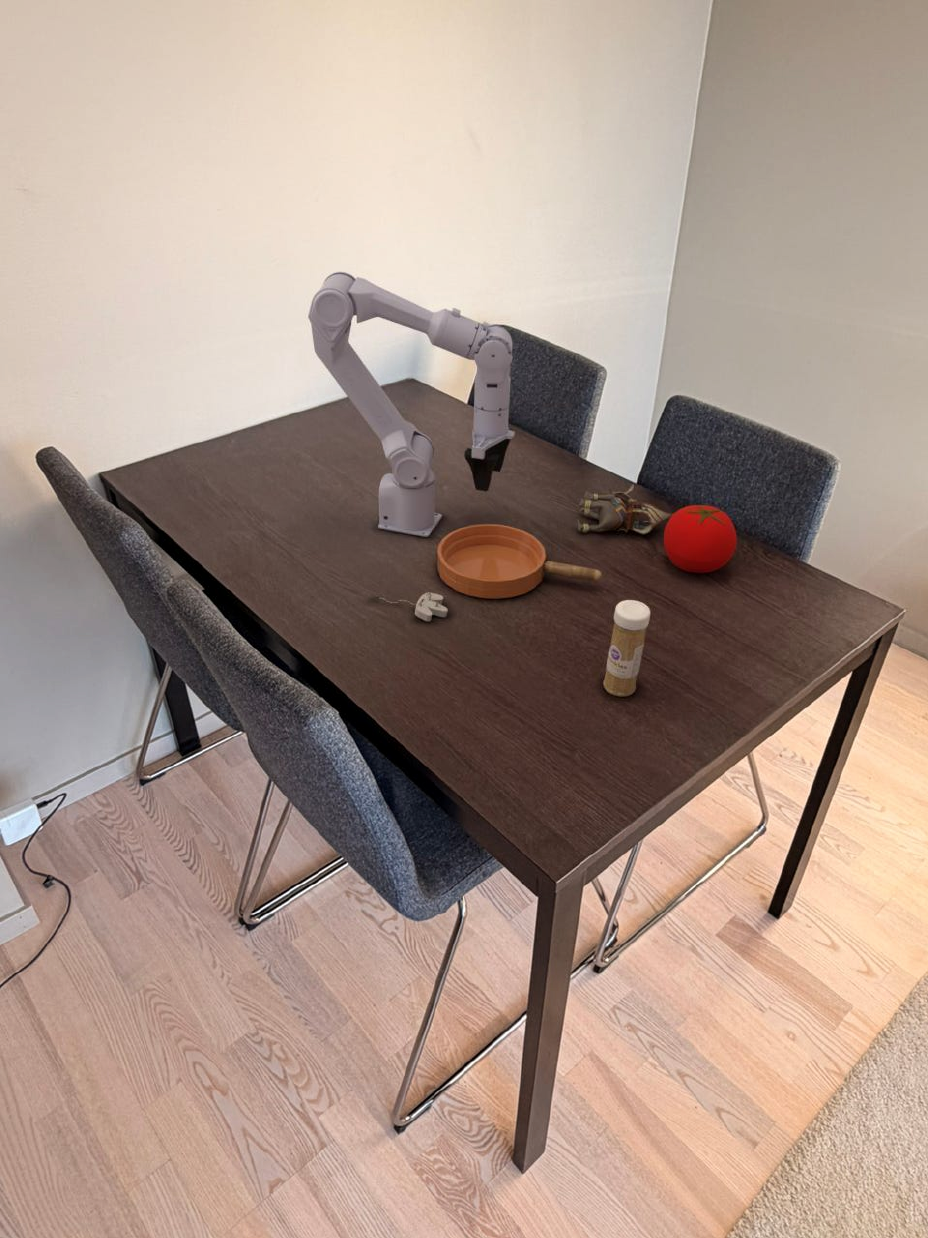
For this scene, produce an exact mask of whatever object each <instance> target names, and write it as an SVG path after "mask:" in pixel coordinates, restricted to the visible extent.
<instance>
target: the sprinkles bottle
mask: <svg viewBox="0 0 928 1238" xmlns="http://www.w3.org/2000/svg"><path fill="white" fill-rule="evenodd" d="M650 619H651V609H650V607H649V606H647V604H645V603H644V602H641V601H639V600H634V599H625V600H622V601H620V602H618V603H617V604H616V605H615V608H614V614H613V622H614V624H613V628H612V635H611V640H610V646H609V649H608V655H607V661H606V669H605V674H604V675H605V677H604V680H603V683H602V685H603V687H604V690H606V692H607V693H609V694H610V695H612V696H615V697H620V698H621V697H622V698H623V697H629V696H631V695H633V694H634V692H636V689H637V685H636V683H637V679H638V675H639V671H640V666H641V660H642V655H643V650H644V644H645V638H646V632H647V628H648V625H649V624H650Z"/></svg>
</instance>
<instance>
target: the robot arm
mask: <svg viewBox="0 0 928 1238" xmlns="http://www.w3.org/2000/svg"><path fill="white" fill-rule="evenodd" d="M309 307H310V308H309V312H308V315H307V319H308V320H309V322H310V325H311V334H312V340H313V341H312V343H313V349H314V352H315V354H316V356H317V358H318V359H319V360H320V361H321V363H322V364H323V366H324V367H325V369H327V371H328V372H329V373H330V375H331V376H332V377H333V380H335V381H336V383H337V384H338V386H339V387H340V388H341V389H342V391H343V392H344V394H345V395H346V396H347V398H348V399H349V400H350V402H351V403H352V405H353V406H354V407H355V408H356V410H357V411H358V412H359V414H360V415H361V416H362V418H363V419H364V420H365V421H366V423H367V424H368V425H369V427H370V428H371V430H372V431H373V432H374V433H375V435H376V437H377V438H378V439H379V440H380V442H381V445H382V448H383V452H384V456H385V459H386V460H387V461H388V463H389V465H390V466H391V472H392V473H390V472H389V473H385V474H384V475H383V476H382V478H381V480H380V483H379V487H378V520H379V524H378V526H377V528H378V529H380V530H384V531H391V532H396V533H402V534H407V535H412V536H418V537H422V538H429V537H430V535H432V532H433V531H434V530H435V528H436V526H437V525H438V524H439V522H440V520H441V519H442V517H443V515H442V513H437V512H435V495H436V494H435V492H436V488H435V487H436V485H435V484H436V480H435V479H436V475H435V473H434V471H432V468H431V466H432V460H433V458H434V454H435V446H434V443H433V441H432V439H431V438H430V437H429V436H428V435H426V434H424V433H422V432H421V431H419V430H418V429H417V427H416V426H415V425H414V424H413V423H412V422H410V421H408V420H405V419H404V417H403V416H402V414H401V413H400V412H399V410H398V409H397V407H396V406H395V405H394V403H393V402H392V401H391V399H390V398H389V397H388V395H387V394H386V392H385V390H383V388H382V387H381V386H380V384H379V383H378V382H377V380H376V379H375V377H374V376H373V374H372V373H371V372H370V370H369V369H368V367H367V366H366V364H364V362H363V361H362V359H361V358H360V356H359V355H358V353H357V352H356V351H355V349H354V348H353V347H352V345H351V344H350V342H349V339H350V333H351V329H352V328H351V327H352V320H353V318H354V316H356V324H361V323H363V322H366V321H369V320H373V319H375V318H380V319H383V320H385V321H389V322H391V323H394V324H398V325H400V326H403V327H406V328H409V329H412V330H413V331H417V332H420V333H423V334H425V335H426V336H427V337H428V339H429V342H430V343H431V345H432V346H434V347H437V348H439V349H441V350H444V351H447V352H449V353H452V354H454V355H457V356H459V357H461V358H464V359H466V360H469V361H474V363H475V365H476V374H475V376H474V392H473V393H474V394H473V395H474V397H473V400H474V401H473V427H472V429H471V437H472V446H471V448H470V447H467V448H466V450H464V452H463V453H464V455H463V457H464V459H465V461H466V462H467V464H468V466H469V469H470V471H471V475H472V479H473V485H474V489H475V490H476V491H481V492H489V489H490V485H491V482H492V476H493V472H497V473H500V472H501V470H502V468H503V465H504V462H505V457H506V453H507V449H508V447H509V445H510V442H511V440H512V439H514V437H515V433H516V432H515V430H514V429H511V428H509V414H510V396H511V381H512V379H511V364H512V363H513V358H514V357H513V339H512V336H511V334H510V333H509V331H508V330H507V329H506V328H504V327H502V326H501V325H500V324H499V323H491V324H490V323H488V322H487V321H483V322H479V321H476V320H474V319H472V318H469V317H467V316H464V315H462V314H461V312H462V311H461V309H458V308H456V307H453V308H452V310H449V309H447V308H442V309H440V310H438V311H434V312H433V311H431V310H429V309H427V308H425V307H423V306H420V305H418V304H416V303H414V302H412V301H410V300H408V299H406V298H404V297H401V296H399V295H398V294H396V293H394V292H391V291H389V290H387V289H384V288H383V287H380V286H378V285H376V284H375V283H373V282H371V281H370V280H368V279H366V278H363V277H358V276H357V277H355V276H354V275H352V274H350V273H348V272H346V271H335V272H333V273H330V274H329V275H328V276H327V277H326V278H325V279H324V281H323V283H322V285H321V287H320V288H319V289H318V290H317V291H316V293H315V294H314V296H313V297H312V300H311V304H310V306H309Z"/></svg>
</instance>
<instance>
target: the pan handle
mask: <svg viewBox="0 0 928 1238" xmlns="http://www.w3.org/2000/svg"><path fill="white" fill-rule="evenodd" d="M543 570H544V573H546V574H549V575H556V576H560V577H567V578H572V579H578V580H583V581H587V582H593V583H598V582H601V580H602V579H603V573H602V571H601V570H599V569H598V568H597V569H596V568H591V567H585V566H579V565H574V564H568V563H563V562H558V561H552V560H547V561H545V563H544V566H543Z"/></svg>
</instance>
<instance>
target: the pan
mask: <svg viewBox="0 0 928 1238" xmlns="http://www.w3.org/2000/svg"><path fill="white" fill-rule="evenodd" d="M436 553H437V554H436V555H437V557H436V559H437V560H436V563H437V564H436V565H437V567H436V569H437V573H438V575H439V577H440V579H441V580H442V582H444V583H445V585H447V586H449V587H450V588H452V589H453V590H455V591H456V592H458V593H462V594H464V595H466V596H470V597H476V598H481V599H495V600H497V599H498V600H499V599H506V598H514V597H517V596H520V595H525V594H526V593H528V592H531V591H532V590H533V589H535V588H536V587H537V586H538V585H539V584H541V582H542V581H543V578H544V575H545V571H544V570H543V566H544V563H545V562H547V561H546V560H547V555H546V553H547V552H546V549H545V547H544V545H543V543H542V542H541V541H540V540H539V539H538V538H536V537H535V536H534V535H533V534H530V533H529V532H527V531H525V530H523V529H519V528H516V527H514V526H509V525H503V524H495V523H494V524H493V523H492V524H491V523H490V524H489V523H482V524H472V525H469V526H464V527H460V528H457V529H456V530H454V531H453V530H452V531H451V532H450V533H448V534H447V535H444V537H443V538H442V539H441V540H440V542H439V544H438V545H437V552H436Z"/></svg>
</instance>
